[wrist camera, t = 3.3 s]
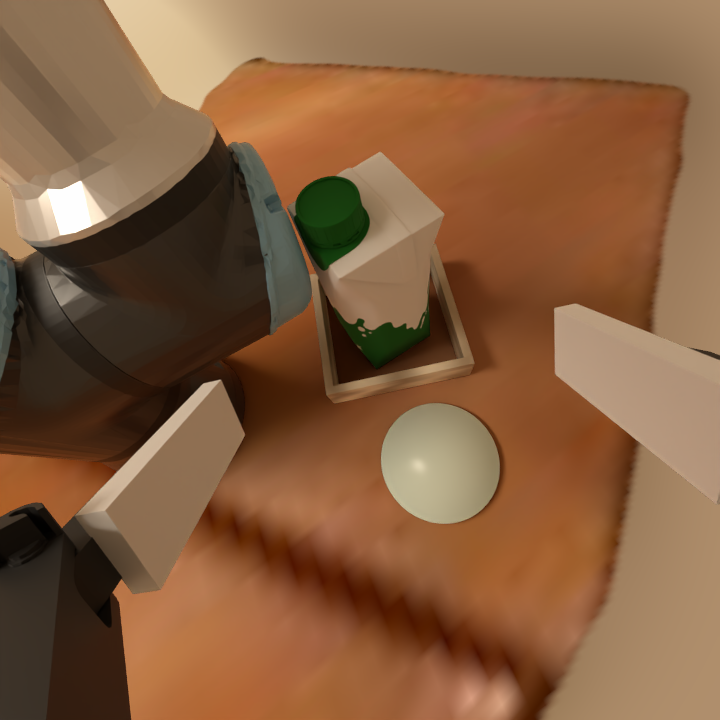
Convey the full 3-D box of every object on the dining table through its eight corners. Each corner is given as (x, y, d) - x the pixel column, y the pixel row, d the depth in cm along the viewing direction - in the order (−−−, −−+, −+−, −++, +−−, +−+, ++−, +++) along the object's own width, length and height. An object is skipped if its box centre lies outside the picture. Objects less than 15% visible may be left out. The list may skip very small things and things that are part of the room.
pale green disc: (394, 532, 31) (393, 533, 30) (372, 416, 35) (371, 415, 35) (515, 511, 30) (517, 512, 29) (478, 394, 34) (479, 393, 34)
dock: (334, 403, 36) (326, 395, 33) (318, 291, 42) (309, 275, 39) (469, 374, 35) (474, 363, 32) (434, 263, 41) (435, 243, 37)
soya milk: (335, 322, 40) (262, 179, 22) (399, 283, 40) (381, 110, 22) (374, 381, 37) (327, 269, 18) (443, 336, 37) (465, 184, 19)
